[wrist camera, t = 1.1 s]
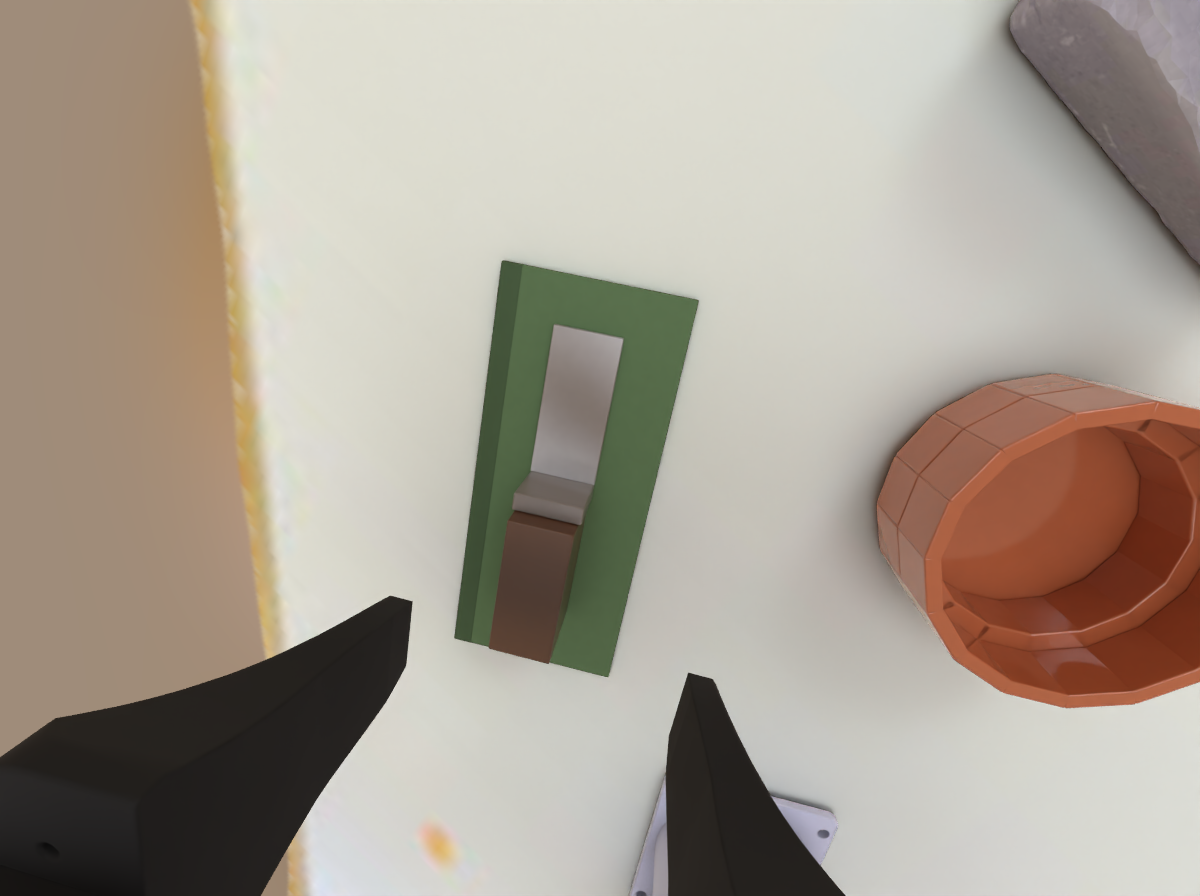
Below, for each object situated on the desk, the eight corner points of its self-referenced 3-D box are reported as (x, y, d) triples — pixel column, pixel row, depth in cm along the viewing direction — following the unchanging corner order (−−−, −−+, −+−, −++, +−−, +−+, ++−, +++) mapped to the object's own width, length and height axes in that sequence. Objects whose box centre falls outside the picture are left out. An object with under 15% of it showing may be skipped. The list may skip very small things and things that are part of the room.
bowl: (1086, 642, 22) (1195, 740, 17) (838, 583, 22) (878, 663, 18) (1220, 406, 18) (1397, 449, 14) (928, 346, 19) (1005, 369, 15)
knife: (568, 612, 24) (551, 665, 21) (511, 598, 24) (485, 648, 21) (624, 337, 20) (614, 349, 17) (555, 323, 20) (532, 332, 17)
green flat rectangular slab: (609, 673, 25) (608, 678, 25) (456, 634, 26) (454, 638, 25) (698, 299, 20) (698, 300, 19) (504, 260, 20) (501, 260, 20)
